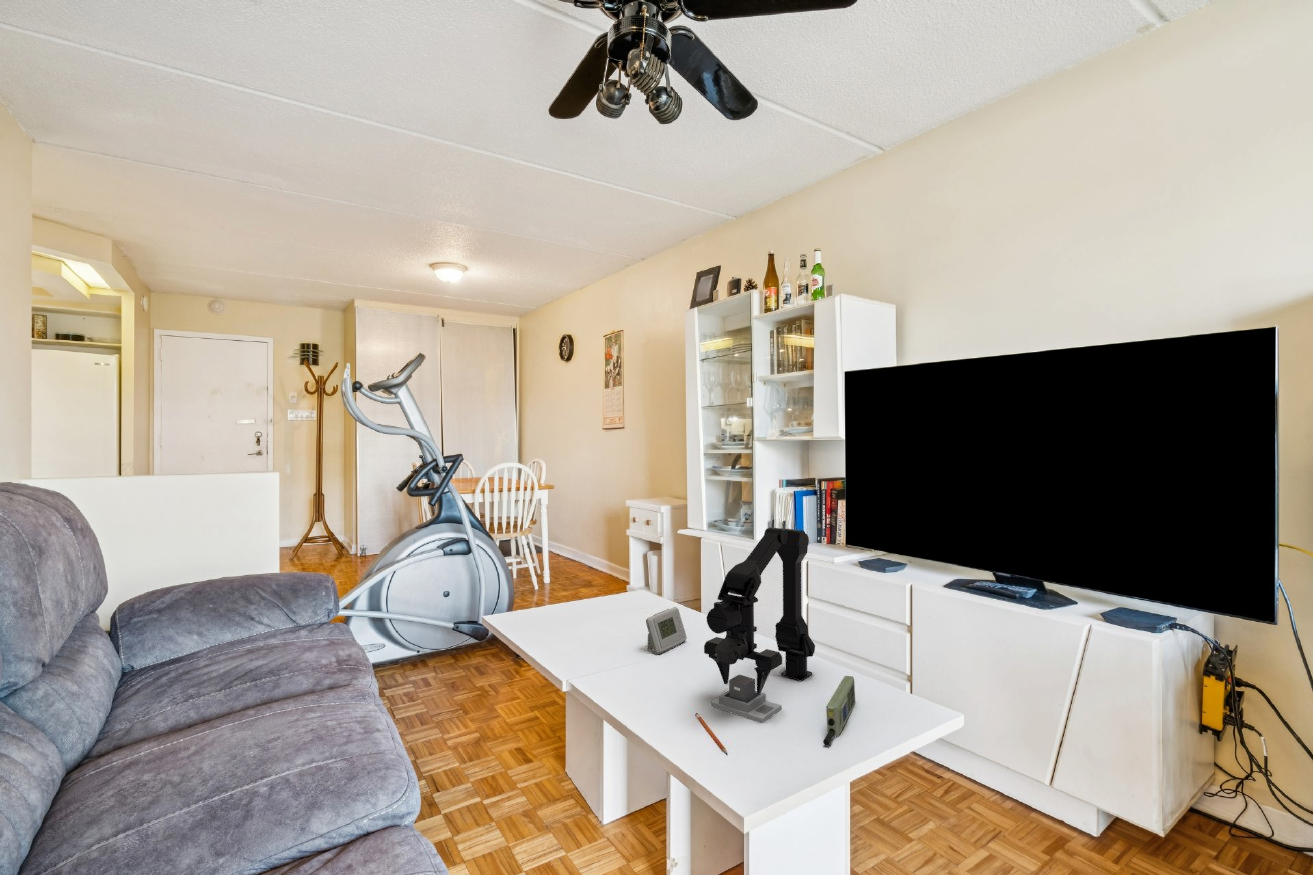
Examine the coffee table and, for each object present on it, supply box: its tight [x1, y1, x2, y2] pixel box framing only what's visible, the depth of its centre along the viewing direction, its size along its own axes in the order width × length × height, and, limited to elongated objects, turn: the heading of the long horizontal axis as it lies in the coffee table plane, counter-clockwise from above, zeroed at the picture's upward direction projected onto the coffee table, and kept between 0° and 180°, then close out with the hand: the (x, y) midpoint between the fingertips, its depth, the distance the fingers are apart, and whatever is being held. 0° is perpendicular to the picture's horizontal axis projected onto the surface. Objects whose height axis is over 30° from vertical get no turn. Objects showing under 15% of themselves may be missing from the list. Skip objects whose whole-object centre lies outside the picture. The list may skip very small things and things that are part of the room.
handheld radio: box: [822, 675, 856, 747], centre depth 137 cm, size 7×3×25 cm
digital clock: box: [645, 606, 687, 655], centre depth 188 cm, size 16×9×11 cm, turn 133°
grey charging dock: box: [710, 689, 783, 724], centre depth 145 cm, size 9×14×3 cm, turn 50°
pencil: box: [694, 712, 728, 756], centre depth 132 cm, size 1×19×1 cm, turn 16°
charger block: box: [728, 674, 756, 703], centre depth 145 cm, size 5×4×6 cm
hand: (742, 688), depth 145 cm, fingers open, 9 cm apart
